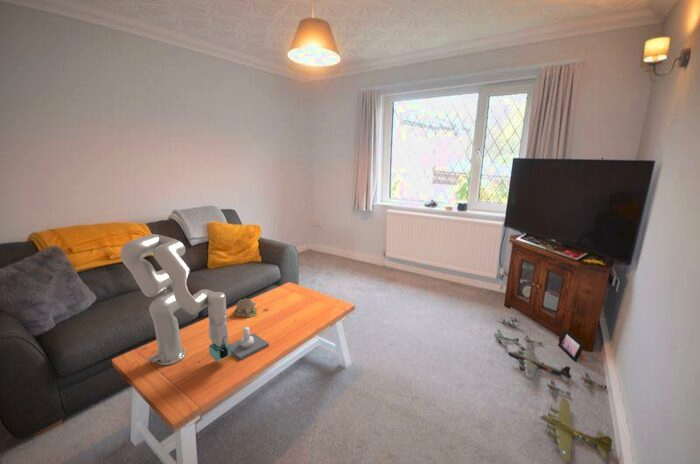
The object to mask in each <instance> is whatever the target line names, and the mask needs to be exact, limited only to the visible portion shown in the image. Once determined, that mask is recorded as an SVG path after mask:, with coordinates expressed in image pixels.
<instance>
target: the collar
mask: <svg viewBox="0 0 700 464" xmlns="http://www.w3.org/2000/svg"><path fill="white" fill-rule="evenodd" d="M222 343H224V342H222ZM228 344H229V347H228V356H226V357H229V356H231V355H232V353H231V345H230V344H231V343H228ZM224 346H225V344H224V345H222V347H224ZM208 348H209V349H208V351H209V355H210V357H211V358H213V359H214V360H215V362H218V361H220V360H223V359H225V358H226V357H224V358H221V354H220V351H221V348H220V346H217V345H216V344H214V343H211V344H209V345H208Z"/></svg>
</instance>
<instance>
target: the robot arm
mask: <svg viewBox="0 0 700 464" xmlns="http://www.w3.org/2000/svg"><path fill="white" fill-rule="evenodd" d="M185 253H186V246H185V245H184V243H182V241H180V240H178V239H175V238H172V237H169V236H164V235H162V234H157V233H156V234H155V233H151V234H147V235H145V236H144V235H143V236H141V237H138V238H135V239H132V240H130V241H128V242H126V243H125V244H124V245H123V246H122V247H121V249H120V260H121V261H122V263H123V264H124V266H125V267H126V268H127V269H128V270H129V272H130V273H131V275H132V277H133V278H134V280H135V282H136V283H137V285H138V287H139V289H140V290H141V293H143V294H144V296H146V297H148V298H152V297H155V296H157V295H159V294H161V293H164V294H162V295H160V296H158V297H156V298H155V299H154V300H153V301H152V302H151V303H150V304H149V308H148V311H149V314H150V316H151V318H152V321H153V326H154V330H155V331H154V332H155V338H156V344H157V351H156V353H155V354H154V355H152V356H151V355H150V356H149V357H147V359H146V360H147V362H149V363H150V362H152V363H156V364H157V365H159V366H170V365H174V364H176V363H179V362H180V361H182V360H183V359H184V358H185V356H186V355H187V351H186V349H185V348H183V347H182V341H181V336H180V335H181V334H180V328H179V321H178V319H177V317H176V316H175V315H174V313H175V312H176V311H178V309H180V308H182V310H184V312H186V313H188V314H190V315H197V314H198V313H200V312H202V311H203V310H204V309H206V308H207V312H208V337H209V340H210V341H211V344H213V343H214V344H216V345H217V346H220V348H221V351H220V354H221V358H223V359H225V358H226V356H227V357H229V356H228V347H229V344H230V343H229V331H228V325H227V323H228V322H227V321H228V316H227V299H226V298H227V297H226V293H224V292H221V291H214V290H210V289H207V288H205V289H200V290H198V291H197V292H196V293H194V294H193V295H192V294H191V293H190V291H189V290H188V285H187V281H188V277H189V275H190V272H191V268H190V267H189V265H187V263H186V262H185V260H183V258H182V257H183V256H184V255H185ZM151 254H152V256H153V258H154V260H155V261H156V262H157V264H159V266H160V267H161V268H162V269H160V270H158V271H156V269H155V268H154V265H153V264H152V263H151V262H150V261H148V259H145V257H146V256H149V255H151ZM222 342H224V343H222ZM224 344H225V346H224V347H222V345H224ZM224 357H225V358H224Z"/></svg>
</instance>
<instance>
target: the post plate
mask: <svg viewBox="0 0 700 464" xmlns="http://www.w3.org/2000/svg"><path fill="white" fill-rule="evenodd" d="M242 335H243V337H241V338H240V339H237V340H236V341H233V342H232V343H229V344H230V345H231V355H233V356H234V357H236V358H237V359H238V360H239V361H242V360H245V358H248V357H250V356H251V355H254V354H256V353H258V352H260V351H261V350H264V349H265V348H267V347H270V343H269V342H268V341H266V340H265V339H264V338H262V337H260V336H259V335H257V334H256V333H250V327H249V326H245V327H243V328H242Z"/></svg>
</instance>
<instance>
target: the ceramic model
mask: <svg viewBox="0 0 700 464" xmlns="http://www.w3.org/2000/svg"><path fill="white" fill-rule="evenodd" d="M255 305H256V302H255V301H254V300H252V299H249V298H248V299H247V298H246V297H245V298H243V299H239V300H238V301H237V303H236V307H235V308H234V309H235V310H234V311H233V313H234V316H236V317H244V318H251V317H255V316H257V315H258V313H257V312H258V309H257V308H256V307H255Z"/></svg>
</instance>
